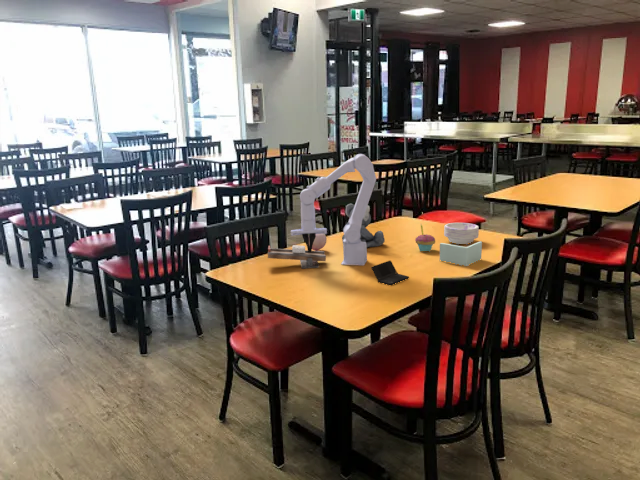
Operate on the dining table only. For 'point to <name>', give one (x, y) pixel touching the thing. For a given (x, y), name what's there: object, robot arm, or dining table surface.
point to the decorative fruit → (319, 242)
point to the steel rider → (298, 249)
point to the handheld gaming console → (387, 273)
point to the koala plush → (365, 234)
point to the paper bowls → (461, 232)
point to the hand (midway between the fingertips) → (309, 251)
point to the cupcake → (425, 241)
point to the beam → (289, 255)
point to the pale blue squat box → (460, 253)
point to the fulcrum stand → (309, 263)
